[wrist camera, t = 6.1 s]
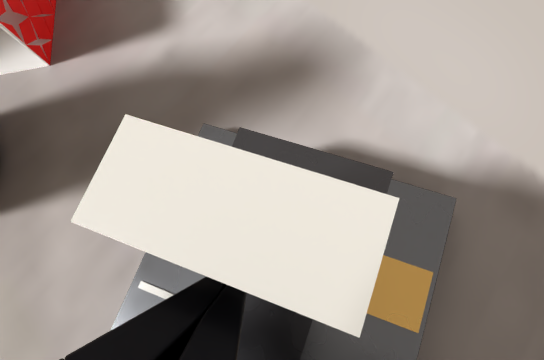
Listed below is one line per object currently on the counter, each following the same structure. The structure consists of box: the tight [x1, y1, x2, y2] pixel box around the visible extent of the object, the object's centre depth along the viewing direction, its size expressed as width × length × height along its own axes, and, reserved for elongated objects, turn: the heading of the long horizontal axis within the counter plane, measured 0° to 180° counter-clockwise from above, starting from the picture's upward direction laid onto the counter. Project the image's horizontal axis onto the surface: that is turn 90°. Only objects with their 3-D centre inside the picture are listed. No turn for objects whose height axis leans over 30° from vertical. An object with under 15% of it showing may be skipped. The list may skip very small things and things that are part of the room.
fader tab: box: [70, 114, 399, 338], centre depth 10 cm, size 3×5×9 cm, turn 69°
